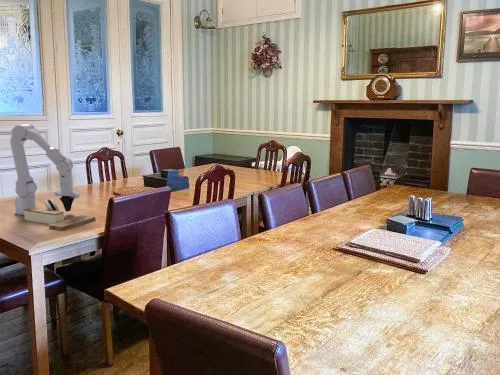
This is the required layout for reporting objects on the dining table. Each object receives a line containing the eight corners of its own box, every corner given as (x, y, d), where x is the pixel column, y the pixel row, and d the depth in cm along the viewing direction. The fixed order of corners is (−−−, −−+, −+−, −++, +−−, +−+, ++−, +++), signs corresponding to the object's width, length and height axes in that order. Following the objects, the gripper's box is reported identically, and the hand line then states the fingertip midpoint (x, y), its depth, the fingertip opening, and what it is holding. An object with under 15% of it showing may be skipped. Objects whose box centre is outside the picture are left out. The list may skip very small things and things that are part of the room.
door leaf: (49, 228, 207) (48, 225, 206) (82, 218, 225) (82, 215, 224) (62, 230, 203) (62, 227, 203) (95, 219, 221) (95, 216, 221)
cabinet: (24, 219, 221) (23, 209, 220) (33, 217, 225) (32, 207, 224) (55, 224, 212) (54, 214, 212) (64, 222, 217) (63, 211, 216)
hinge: (66, 219, 222) (57, 200, 218) (57, 224, 220) (47, 205, 216) (60, 212, 236) (51, 194, 232) (51, 216, 234) (42, 198, 230)
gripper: (83, 183, 229) (85, 210, 232) (61, 181, 235) (63, 207, 238) (72, 186, 223) (74, 213, 226) (50, 183, 229) (52, 210, 232)
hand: (68, 211), depth 231 cm, fingers closed
